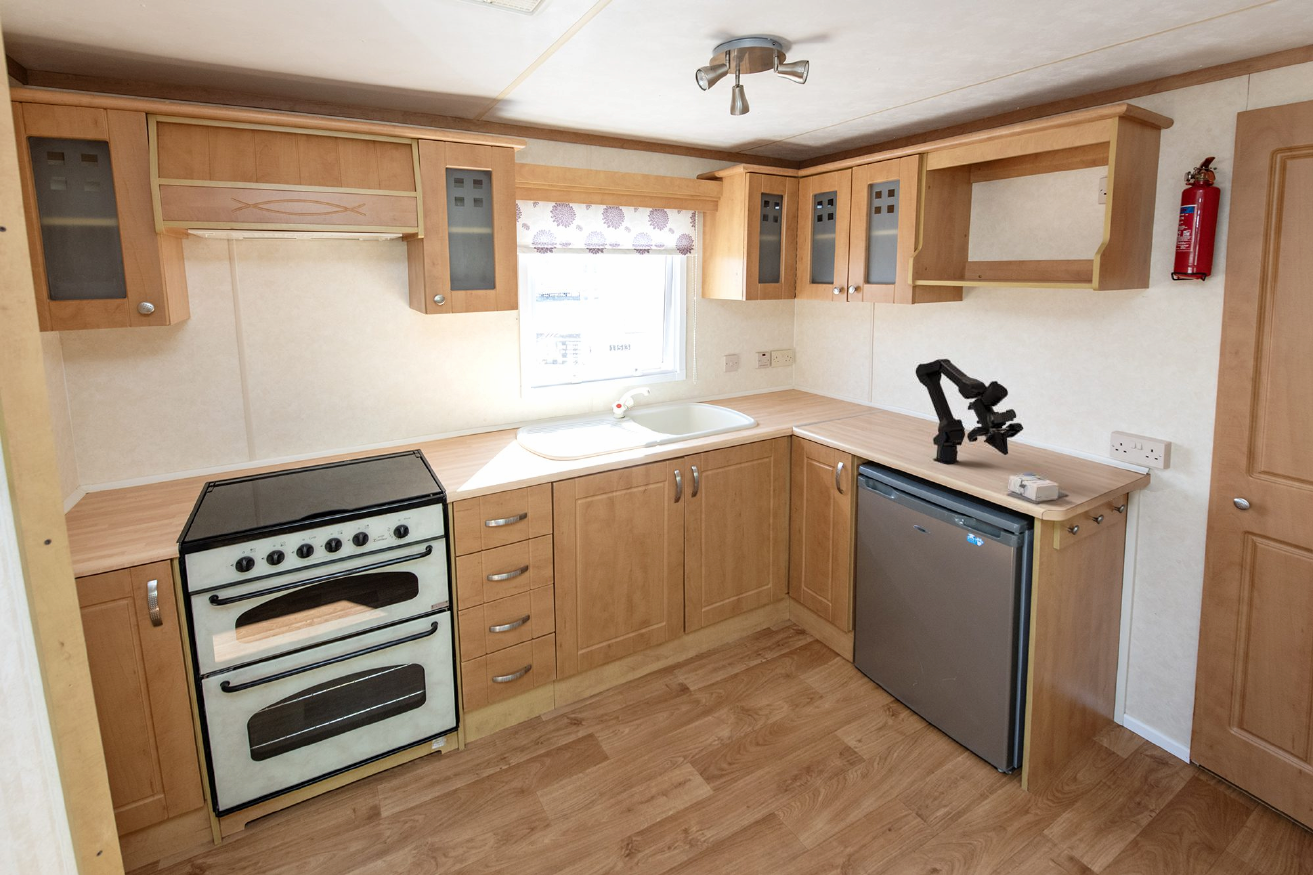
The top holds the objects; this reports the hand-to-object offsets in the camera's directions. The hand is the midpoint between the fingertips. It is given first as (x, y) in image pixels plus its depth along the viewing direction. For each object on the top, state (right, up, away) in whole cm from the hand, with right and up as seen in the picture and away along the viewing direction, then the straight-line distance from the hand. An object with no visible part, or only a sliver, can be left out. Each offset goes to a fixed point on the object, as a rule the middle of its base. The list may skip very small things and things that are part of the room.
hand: (1006, 454), depth 238 cm
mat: (+6, -13, -9) cm, 16 cm away
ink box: (+2, -9, -4) cm, 10 cm away
